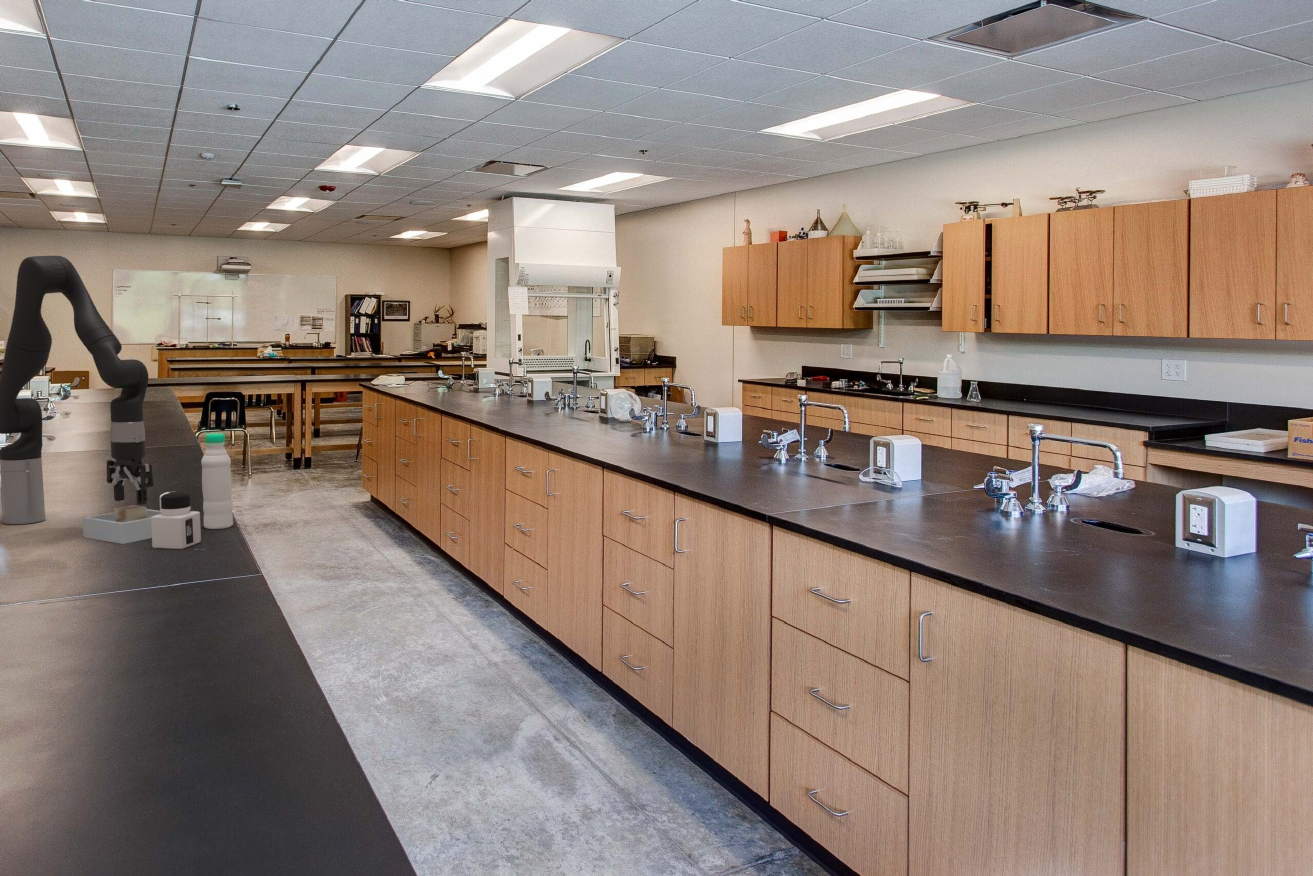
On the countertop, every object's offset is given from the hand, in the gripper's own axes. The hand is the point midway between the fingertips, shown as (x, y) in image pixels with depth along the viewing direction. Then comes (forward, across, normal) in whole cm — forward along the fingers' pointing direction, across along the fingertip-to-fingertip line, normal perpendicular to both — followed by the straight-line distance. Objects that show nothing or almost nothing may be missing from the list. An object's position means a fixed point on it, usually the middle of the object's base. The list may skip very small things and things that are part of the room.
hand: (130, 502), depth 226 cm
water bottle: (+8, +11, +17) cm, 22 cm away
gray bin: (+8, 0, 0) cm, 8 cm away
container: (+8, +20, -2) cm, 22 cm away
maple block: (+7, 0, 0) cm, 7 cm away
